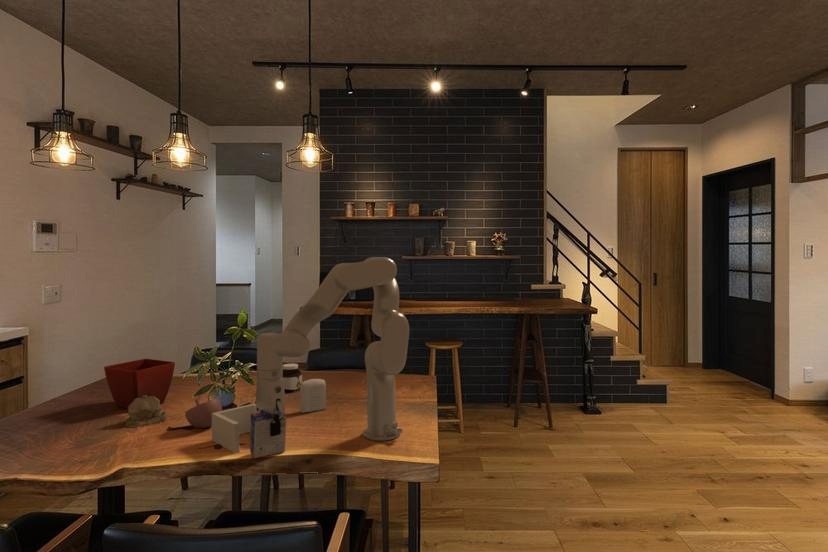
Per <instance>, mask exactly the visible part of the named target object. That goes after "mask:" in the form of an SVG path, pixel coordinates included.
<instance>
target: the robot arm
mask: <svg viewBox="0 0 828 552" xmlns="http://www.w3.org/2000/svg"><path fill="white" fill-rule="evenodd" d="M397 273H398V267H397V264H396V262H395V261H394V260H393V259H391V258H390V257H385V256H372V257H367V258H366V259H364V261H363V260H362V261H359V262H358V261H357V262H341V263H338V264H336V265H334V266H333V267H332V268H331V270H330V271H329V272H328V273H327V275H326V277H324V279H323V281H322V282H321V283H320V285H319V286H318V288H317V289H316V290H315V292H314V293H313V295H311V297H310V298H309V299H308V301H306V303H305V304H304V305H303V306H302V307H301V308H300V309H299V310H298V311H297V312H296V313H295V314H294V315H293V317H292V318H291V319H290V321H289V322H288V324H287V325H286V327H284V329H283V331H282V332H281V333H278V332H263V333H261V334H259V335H258V336H257V338H256V339H257V340H256V390H255V401H254V404H256V407H257V412H258V413H261V412H262V409H263V411H265V412H267V413H269V414H270V416H271V421H272V423H270V436H276V435H280V434H281V421H282V418H283V416H284V414H286V412H285V410H286V392H285V391H284V383H283V379H282V374H283V365H284V364H283V362H284V360H283V359H284V357H285V358H301V357H304V356H305V355H306V354H308V352H309V351H310V349H311V341H310V339H309V338H308V335H309V333H311V332H312V330H313V329H314V328H315V327H316V326H317V325H318V324H319V323H320V322H322V321H324V320H325V319H327V318H330V316H332V315H333V314H334V313H335V312H336V310H337V309H338V306H339V305H340V304H341V303H342V301H343V300H344V299H345V297H346V296H347V295H348V293H349V291H357V290H358V291H359V290H364V289H368V288H372V289H373V297H374V298H373V309H372V318H371V323H370V324H371V330H372V332H373V334H374V335H376V336H377V337H380V340H376V341H373V342H371V343H370V344H368V346H367V347H366V349H365V353H364V363H365V364H364V365H365V371H366V385H367V387H366V399H367V400H366V403H367V404H366V405H367V408H366V410H367V413H366V414H367V415H366V416H367V420H366V421H367V424H366V425H367V428H365V429H363V431H362V436H363V438H365V439H367V440H370V441H377V442H378V441H380V442H384V441H391V440H394V439H396V438H398V437H400V436H401V433H403V429H402V428H401V427H398V424H399V423H398V422H397V420H396V375H398V374H399V373H401V372H402V371H403V369H404V367H405V365H406V361H407V356H408V348H409V340H410V339H409V338H410V324H409V321H408V319H407V317H406V315H404V314H403V313H401V312H399V308H400V288H399V284H398V281H397V279H396V276H397ZM274 410H277V411H276V412H273V411H274ZM274 414H277V415H276V417H275V418H274Z"/></svg>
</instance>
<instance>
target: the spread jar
mask: <svg viewBox="0 0 828 552" xmlns="http://www.w3.org/2000/svg"><path fill="white" fill-rule="evenodd" d="M282 379H283V383H284V391H285V393H295V392H294V391H296V392H298V391H299V390H300V386H301V383H302V382H303V373H302V371H301V370H300V369H299V364H298V363H285V364H283V374H282ZM297 390H298V391H297Z"/></svg>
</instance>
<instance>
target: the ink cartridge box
mask: <svg viewBox="0 0 828 552" xmlns="http://www.w3.org/2000/svg"><path fill="white" fill-rule="evenodd" d="M276 411H277V410H274V411H273V412H276ZM276 415H277V414H274V418H275V417H276ZM270 423H272V421H271V416H270V414H269V413H267V412H265V411H263V409H262V412H261V413H256V414H251V432H250V443H249V444H250V445H249V446H250V448H249V449H250V450H249V451H250V454H251V456H252V458H253V459H257V458H261V457H266V456H267V457H268V456H270V455H276V454H279V453H280V454H281V453H284V452H286V436H287V434H286V433H287V432H286V431H287V414H286V413H285V414H284V416H283V418H282V421H281V434H280V435H276V436H270Z"/></svg>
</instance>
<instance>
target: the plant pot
mask: <svg viewBox="0 0 828 552" xmlns="http://www.w3.org/2000/svg"><path fill="white" fill-rule="evenodd" d="M175 365H176V362H175V361H167V360H160V359H153V358H151V359H150V358H141V359H136V360H131V361H126V362H121V363H117V364H112V365H111V364H110V365H106V366H104V367H103V371H104V374H105V379H106V382H107V385H108V387H109V391H110V394H111V396H112V398H113V401H114V402H115V405H116V407H119V408H123V409H128V406H129V405H130V404H131V403H132V402H133V401H134V399H136V398H142V397H143V395H147V397H149V396H155V397H156V398H157V399H159V401H160V404H163V403H164V402H165V400H166V399H167V395H168V392H169V390H170V387H171V383H172V381H173V377H174V372H175Z"/></svg>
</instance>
